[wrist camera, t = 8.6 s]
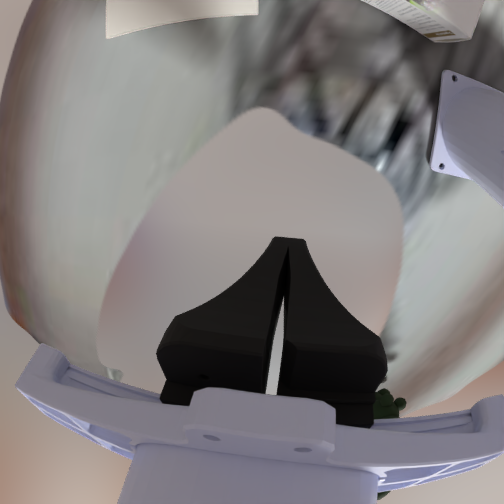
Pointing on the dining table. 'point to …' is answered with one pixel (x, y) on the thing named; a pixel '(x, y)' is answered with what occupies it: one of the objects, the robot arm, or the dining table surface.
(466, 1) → the syrup box
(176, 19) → the cream white mat
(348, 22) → the dining table surface
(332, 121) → the dining table surface
